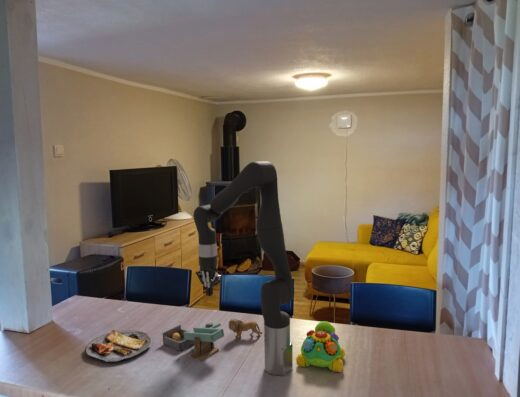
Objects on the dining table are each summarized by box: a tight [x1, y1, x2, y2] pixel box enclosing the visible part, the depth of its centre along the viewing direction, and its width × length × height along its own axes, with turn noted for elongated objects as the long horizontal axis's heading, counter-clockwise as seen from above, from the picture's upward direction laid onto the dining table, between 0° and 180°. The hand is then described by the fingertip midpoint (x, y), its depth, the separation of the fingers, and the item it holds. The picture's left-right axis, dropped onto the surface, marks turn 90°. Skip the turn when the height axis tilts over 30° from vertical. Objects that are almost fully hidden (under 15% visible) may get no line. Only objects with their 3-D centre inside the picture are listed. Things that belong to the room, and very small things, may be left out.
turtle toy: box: [296, 320, 346, 373], centre depth 154 cm, size 17×23×12 cm
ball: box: [172, 333, 180, 341], centre depth 170 cm, size 3×3×3 cm
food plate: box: [84, 329, 153, 363], centre depth 165 cm, size 25×23×4 cm
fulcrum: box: [189, 337, 220, 362], centre depth 159 cm, size 6×10×8 cm, turn 142°
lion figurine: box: [228, 318, 263, 341], centre depth 172 cm, size 15×5×9 cm, turn 109°
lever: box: [184, 322, 225, 343], centre depth 163 cm, size 16×16×3 cm
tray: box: [162, 324, 194, 352], centre depth 168 cm, size 10×9×5 cm
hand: (209, 295), depth 168 cm, fingers closed
